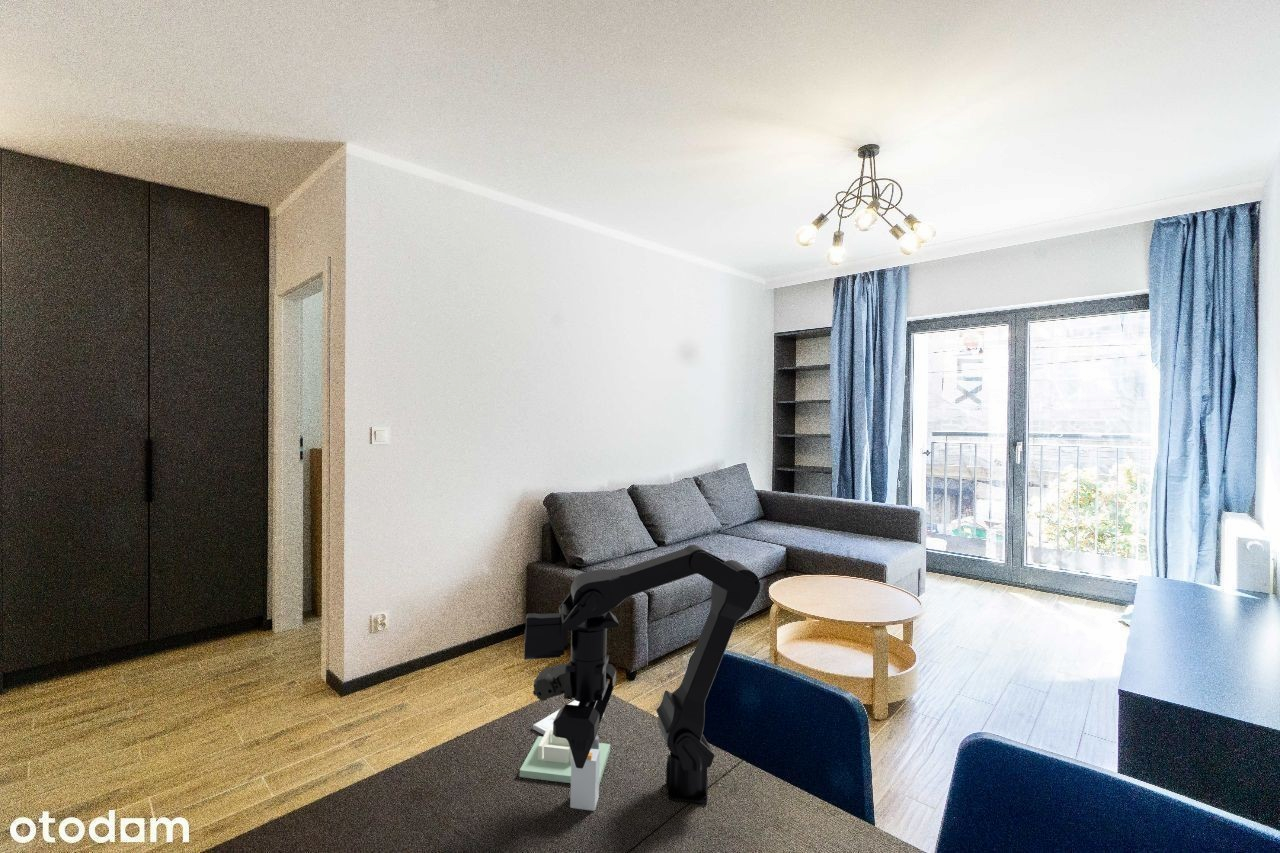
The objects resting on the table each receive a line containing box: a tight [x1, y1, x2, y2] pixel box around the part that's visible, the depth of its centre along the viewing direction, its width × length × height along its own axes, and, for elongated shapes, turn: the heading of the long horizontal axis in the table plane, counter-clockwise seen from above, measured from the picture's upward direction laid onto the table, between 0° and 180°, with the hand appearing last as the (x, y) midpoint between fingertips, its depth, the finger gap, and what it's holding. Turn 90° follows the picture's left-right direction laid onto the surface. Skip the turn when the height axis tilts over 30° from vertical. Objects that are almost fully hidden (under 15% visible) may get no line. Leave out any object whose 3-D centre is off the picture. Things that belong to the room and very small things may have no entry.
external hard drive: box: [532, 699, 605, 738], centre depth 110 cm, size 2×8×12 cm
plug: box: [569, 749, 600, 812], centre depth 87 cm, size 4×3×9 cm
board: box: [519, 728, 611, 786], centre depth 97 cm, size 14×10×4 cm
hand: (586, 749), depth 87 cm, fingers open, 9 cm apart
